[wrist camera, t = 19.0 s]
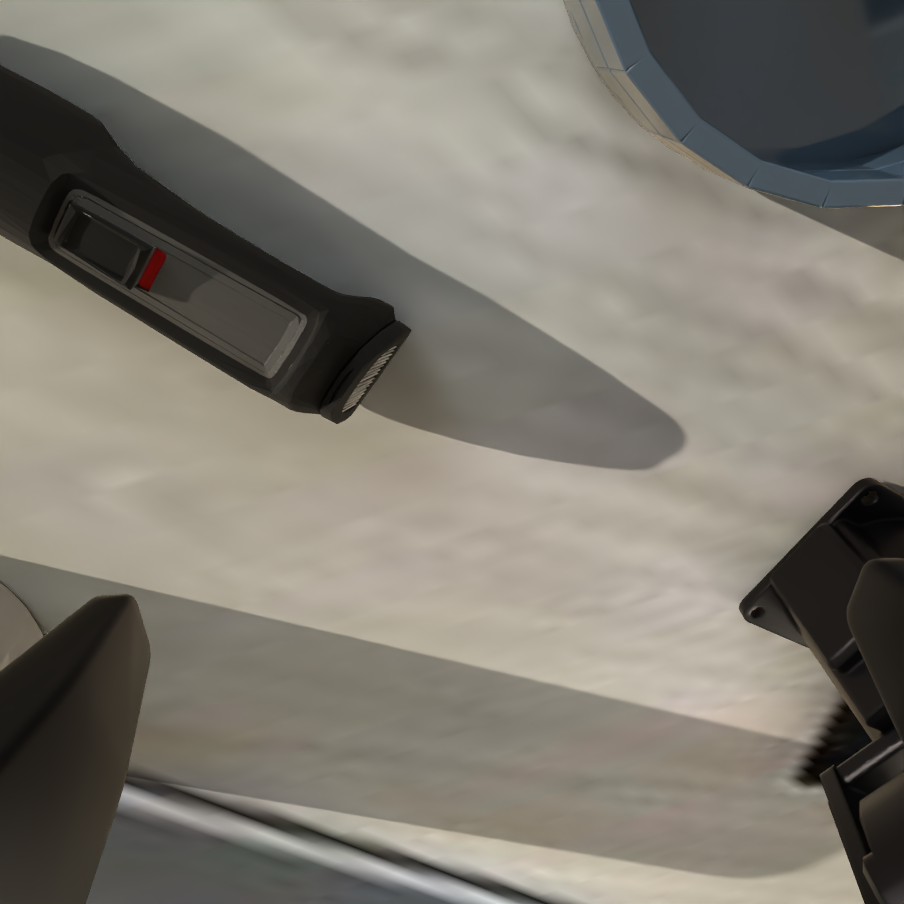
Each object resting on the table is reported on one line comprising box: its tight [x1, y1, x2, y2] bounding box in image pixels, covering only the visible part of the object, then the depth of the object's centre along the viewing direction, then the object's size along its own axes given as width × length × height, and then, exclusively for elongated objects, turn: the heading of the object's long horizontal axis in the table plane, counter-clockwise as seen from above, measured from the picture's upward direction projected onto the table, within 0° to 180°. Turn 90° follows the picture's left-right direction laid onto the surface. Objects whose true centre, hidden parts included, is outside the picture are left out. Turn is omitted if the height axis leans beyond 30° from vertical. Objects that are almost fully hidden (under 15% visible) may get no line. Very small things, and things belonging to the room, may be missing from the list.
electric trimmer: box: [0, 65, 411, 424], centre depth 16 cm, size 4×16×3 cm, turn 54°
